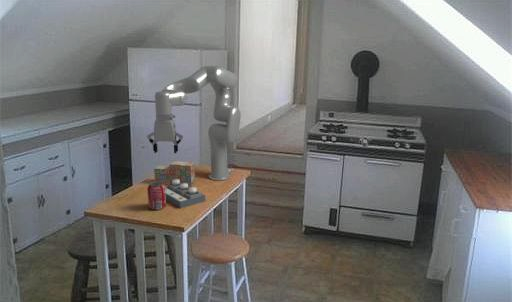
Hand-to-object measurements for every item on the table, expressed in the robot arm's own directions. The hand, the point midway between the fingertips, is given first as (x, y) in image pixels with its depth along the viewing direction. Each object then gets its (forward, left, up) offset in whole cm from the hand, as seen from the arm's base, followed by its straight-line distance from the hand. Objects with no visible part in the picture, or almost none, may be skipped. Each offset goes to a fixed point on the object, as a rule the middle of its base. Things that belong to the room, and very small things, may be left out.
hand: (165, 152), depth 192 cm
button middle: (-7, +3, -19) cm, 21 cm away
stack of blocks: (-14, -18, -24) cm, 33 cm away
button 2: (-7, +11, -19) cm, 23 cm away
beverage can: (+10, +7, -24) cm, 27 cm away
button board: (-5, +3, -24) cm, 25 cm away
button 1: (-7, -5, -19) cm, 21 cm away
